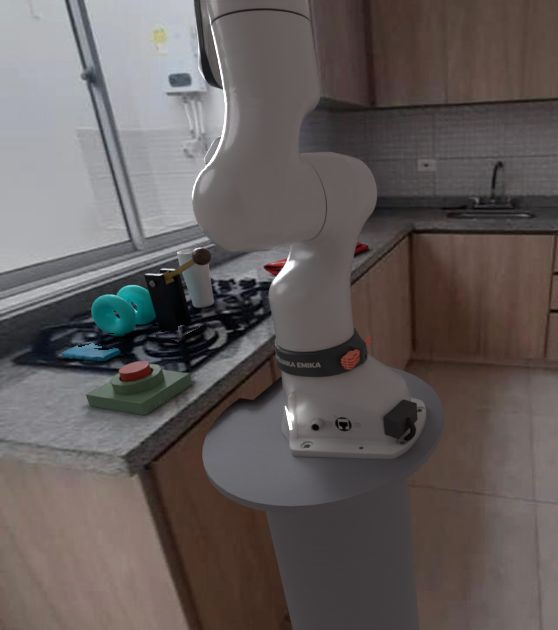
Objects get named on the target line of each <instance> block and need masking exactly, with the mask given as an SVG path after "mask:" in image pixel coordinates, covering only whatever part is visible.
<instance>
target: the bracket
mask: <svg viewBox="0 0 558 630" xmlns="http://www.w3.org/2000/svg"><path fill="white" fill-rule="evenodd" d="M175 269H176V268H161V269H159V273H145V274H143V276H144V280H145V283H146V287H147V290H148V291H149V294H150V297H151V301H152V304H153V308H154V311H155V315H156V317H155V319H156V320H157V325H158V328H159V330H160V332H165V331H170V330H171V331H175V330H178V326H180V325H188V324H192V322H193V321H192V317H191V312H190V308H189V305H188V300H187V297H186V292H185V288H184V285H183V282H182V277H181V273H180V274H178V275H176V276H175V277H173V279H174V282H172V283H170V284H169V285H166V281H165V277H164V274H162V273H165V272H169V273H170V272H172V271H173V270H175ZM203 323H204V324H202V325H201V326H202V327H200V326H199V327H200V328H198V329H196V330H194V331H192V332H190V333H188V334H186V335H185V340H187V339H189V338H191V337H193V336H195V335H196V334H198V333H200V332H203V331H204V330H206V329H207V328H208V327H207V324H206V323H205V322H203ZM147 341H148V342H154V343H164V344H172V345H174V344H175V345H177V344H179V343H178V342H177V341H175V340H171V339H161V338H157V337H156V335H155V332H153V333H151V334H149V335H147Z"/></svg>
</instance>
